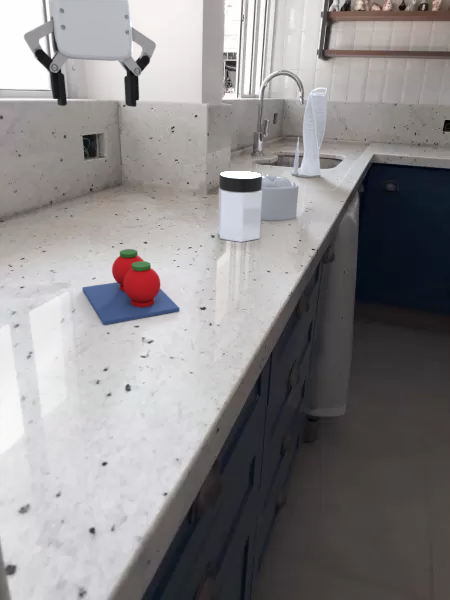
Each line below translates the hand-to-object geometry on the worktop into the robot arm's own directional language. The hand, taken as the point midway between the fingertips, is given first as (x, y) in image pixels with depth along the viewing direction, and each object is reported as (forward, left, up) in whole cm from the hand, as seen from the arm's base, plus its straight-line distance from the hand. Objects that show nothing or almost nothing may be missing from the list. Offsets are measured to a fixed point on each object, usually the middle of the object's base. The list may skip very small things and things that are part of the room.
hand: (97, 105), depth 68 cm
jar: (+28, +8, -24) cm, 38 cm away
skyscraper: (+86, +64, -24) cm, 110 cm away
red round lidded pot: (0, -16, -24) cm, 29 cm away
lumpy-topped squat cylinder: (+43, +21, -24) cm, 54 cm away
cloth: (-1, -14, -24) cm, 28 cm away
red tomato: (0, -11, -24) cm, 26 cm away
